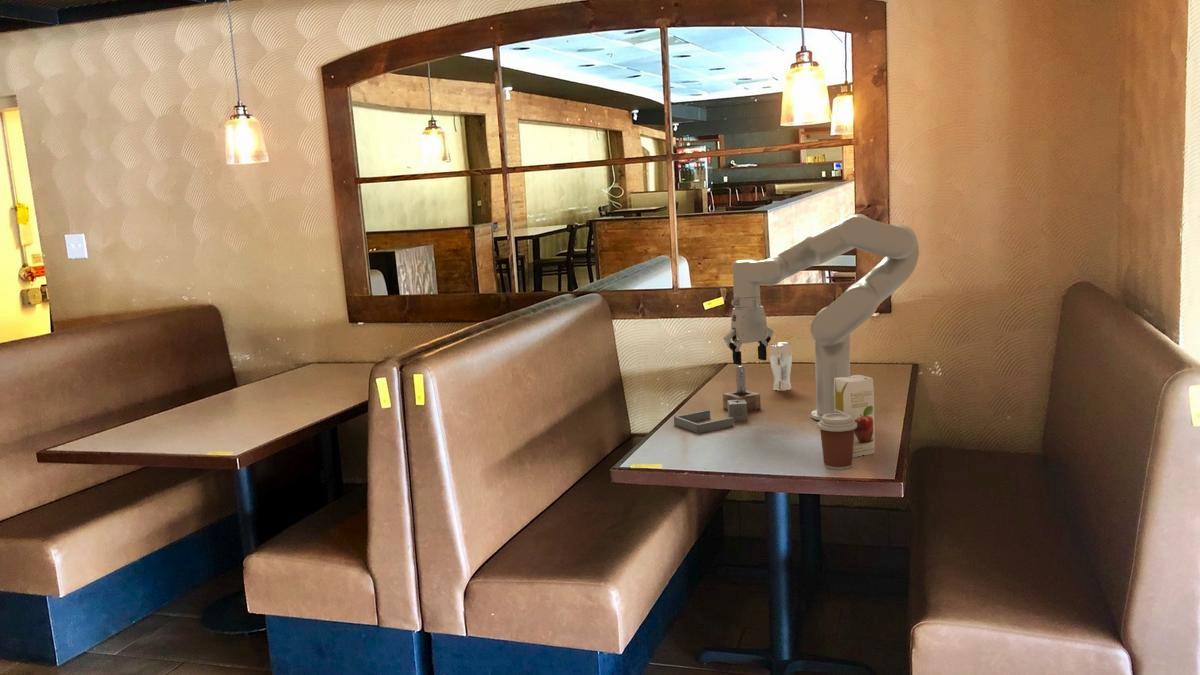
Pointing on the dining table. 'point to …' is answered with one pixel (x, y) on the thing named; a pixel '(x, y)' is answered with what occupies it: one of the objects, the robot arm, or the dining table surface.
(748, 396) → the walnut block
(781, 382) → the beer glass
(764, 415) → the dining table surface
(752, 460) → the dining table surface
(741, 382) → the steel pin
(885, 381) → the dining table surface
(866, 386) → the juice carton
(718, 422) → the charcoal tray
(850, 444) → the coffee cup
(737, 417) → the dice cube
